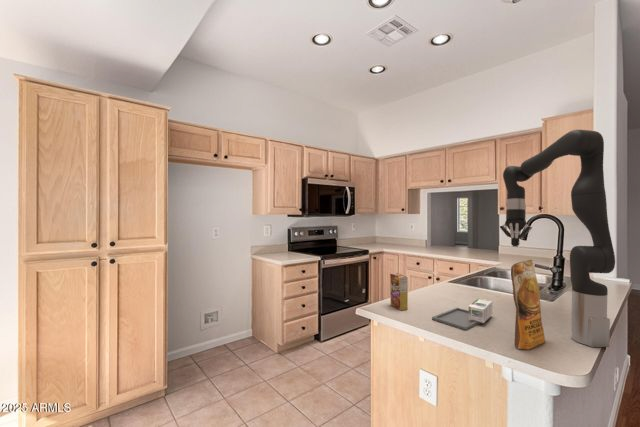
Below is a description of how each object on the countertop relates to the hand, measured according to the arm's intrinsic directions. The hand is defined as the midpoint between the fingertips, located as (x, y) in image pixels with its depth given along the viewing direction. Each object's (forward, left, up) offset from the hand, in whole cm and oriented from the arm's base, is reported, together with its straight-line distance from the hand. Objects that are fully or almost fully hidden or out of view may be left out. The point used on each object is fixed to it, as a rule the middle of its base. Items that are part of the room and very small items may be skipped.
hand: (515, 246), depth 139 cm
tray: (-15, +31, -29) cm, 45 cm away
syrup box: (-9, +18, -25) cm, 32 cm away
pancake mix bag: (-36, +17, -29) cm, 49 cm away
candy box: (0, +53, -29) cm, 61 cm away
